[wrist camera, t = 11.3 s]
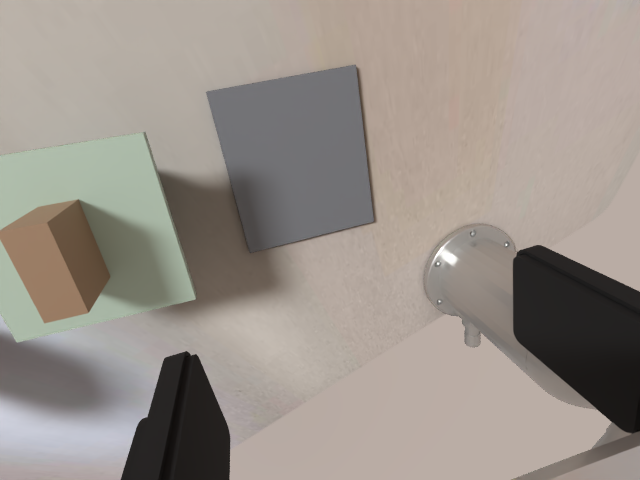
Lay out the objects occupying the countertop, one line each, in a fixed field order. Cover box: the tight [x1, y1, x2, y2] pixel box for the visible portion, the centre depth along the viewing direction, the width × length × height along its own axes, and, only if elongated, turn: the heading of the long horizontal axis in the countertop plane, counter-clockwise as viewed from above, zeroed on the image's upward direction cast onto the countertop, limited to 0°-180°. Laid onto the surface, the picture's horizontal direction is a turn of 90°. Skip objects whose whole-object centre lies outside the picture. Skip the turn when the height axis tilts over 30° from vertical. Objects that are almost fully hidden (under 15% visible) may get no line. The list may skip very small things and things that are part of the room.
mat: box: [206, 65, 374, 253], centre depth 37 cm, size 16×14×1 cm
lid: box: [0, 132, 197, 342], centre depth 24 cm, size 13×13×6 cm
